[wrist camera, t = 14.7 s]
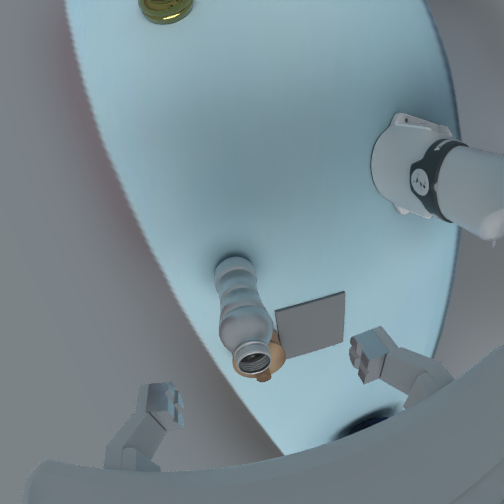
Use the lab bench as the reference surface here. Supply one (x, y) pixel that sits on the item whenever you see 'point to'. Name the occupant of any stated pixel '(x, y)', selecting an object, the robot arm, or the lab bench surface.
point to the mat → (311, 325)
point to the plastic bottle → (243, 315)
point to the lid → (277, 362)
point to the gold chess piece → (165, 10)
